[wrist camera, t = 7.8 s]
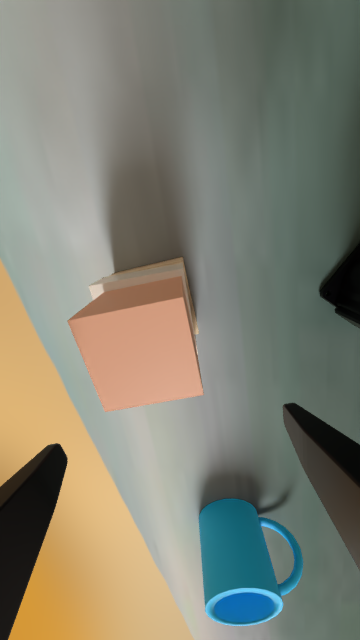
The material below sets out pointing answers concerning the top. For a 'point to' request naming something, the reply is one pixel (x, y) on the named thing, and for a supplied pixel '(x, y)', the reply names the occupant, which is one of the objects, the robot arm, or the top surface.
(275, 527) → the mug
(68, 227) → the top surface
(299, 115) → the top surface
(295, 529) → the top surface
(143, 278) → the slab upper
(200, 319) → the top surface
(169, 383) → the coral cube
